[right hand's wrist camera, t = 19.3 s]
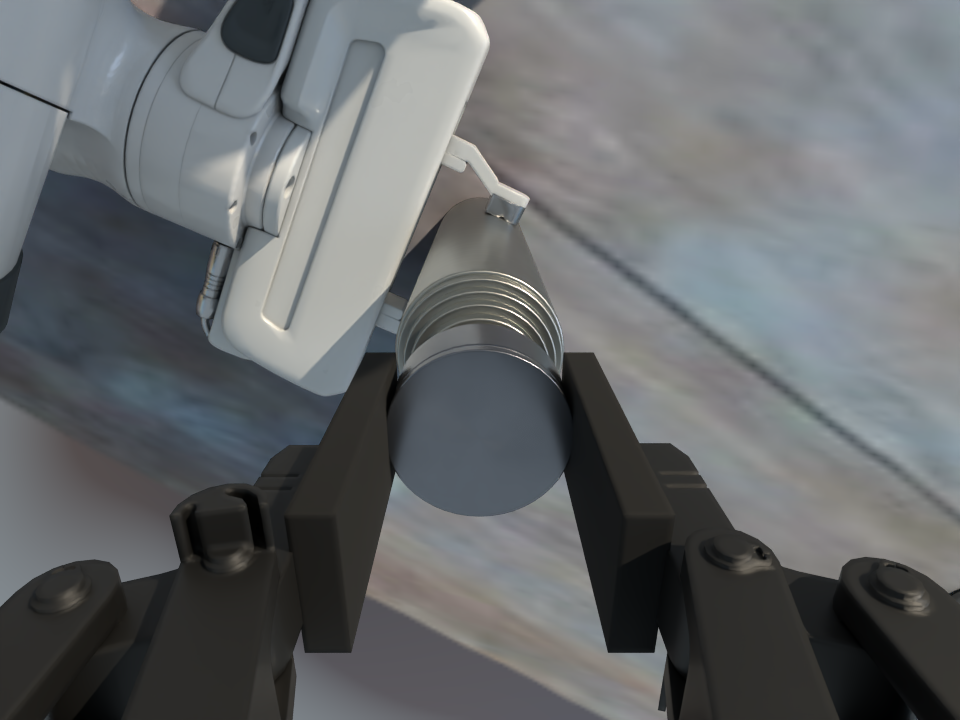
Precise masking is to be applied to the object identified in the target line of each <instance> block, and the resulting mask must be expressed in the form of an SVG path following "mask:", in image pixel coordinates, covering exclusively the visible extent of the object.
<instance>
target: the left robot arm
mask: <svg viewBox="0 0 960 720" xmlns="http://www.w3.org/2000/svg"><path fill="white" fill-rule="evenodd" d="M489 47H490V40H489V36H488V33H487V31H486V28H485V25H484V23H483V21H482V19H481V18H480V16H479V15H478V14H476V13H475V12H474V11H472V10H470V9H468V8H467V7H465V6H463V5H461V4H459V3H457V2H455V1H453V0H228V1H227V3H226V4H225V6H224V8H223V9H222V11H221V12H220V14H219V15H218V16H217V18H216V19H215V21H214V22H213V24H212V25H211V27H210V28H209V29H208V31H207V32H204V31H201V30H199V29H195V28H191V27H186V26H181V25H176V24H172V23H168V22H165V21H161V20H159V19H157V18H154V17H152V16H150V15H148V14H147V13H145V12H143V11H142V10H140V9H139V8H138V7H136V6H135V5H134V4H133V3H132V2H131V1H130V0H0V333H1V332H2V331H3V330H4V328H5V327H6V325H7V322H8V318H9V314H10V309H11V305H12V301H13V296H14V292H15V288H16V284H17V279H18V275H19V271H20V267H21V263H22V257H23V251H22V246H23V243H24V240H25V237H26V234H27V231H28V228H29V226H30V223H31V220H32V217H33V214H34V211H35V208H36V205H37V202H38V199H39V197H40V194H41V191H42V188H43V185H44V182H45V179H46V176H47V173H48V171H49V170H52V171H55V172H58V173H61V174H66V175H72V176H79V177H85V178H89V179H92V180H96V181H98V182H100V183H103V184H104V185H106V186H108V187H110V188H111V189H113V190H114V191H115V192H117V193H118V194H119V195H120V196H122V197H123V198H124V199H126V200H127V201H128V202H130V203H131V204H133V205H135V206H136V207H138V208H141V209H143V210H145V211H147V212H150V213H152V214H154V215H157V216H159V217H162V218H164V219H166V220H169V221H171V222H173V223H176V224H178V225H180V226H183V227H185V228H187V229H190V230H192V231H194V232H196V233H199V234H201V235H204V236H206V237H208V238H211V239H213V240H214V242H213V245H212V248H211V253H210V257H209V260H208V264H207V269H206V277H205V281H204V285H203V289H202V290H201V291H200V293H199V296H198V299H197V303H196V314H197V315H198V316H199V317H201V325H202V328H203V331H204V333H205V335H206V336H207V338H208V340H209V342H210V343H211V344H212V345H213V346H215V347H216V348H218V349H220V350H222V351H225V352H227V353H230V354H232V355H235V356H237V357H240V358H243V359H247V360H252V361H253V362H255V363H257V364H259V365H260V366H262V367H264V368H265V369H267V370H269V371H271V372H272V373H274V374H276V375H278V376H280V377H282V378H284V379H285V380H287V381H289V382H291V383H293V384H295V385H297V386H299V387H302V388H304V389H306V390H308V391H310V392H312V393H315V394H317V395H320V396H332V395H337V394H341V393H344V392H346V391H347V389H348V387H349V385H350V383H351V381H352V379H353V377H354V375H355V373H356V371H357V369H358V367H359V365H360V363H361V361H362V358H363V356H364V353H365V351H366V348H367V346H368V344H369V341H370V339H371V336H372V334H373V331H374V329H375V327H376V326H377V327H379V328H382V329H384V330H386V331H389V332H391V333H393V334H397V331H398V327H399V324H400V322H401V319H402V316H403V314H404V312H405V308H406V306H407V303H408V301H407V300H406V299H404V298H402V297H400V296H397V295H395V294H393V293H391V292H390V290H391V288H392V285H393V283H394V280H395V278H396V275H397V273H398V270H399V268H400V266H401V263H402V261H403V258H404V256H405V253H406V251H407V249H408V246H409V244H410V241H411V239H412V236H413V234H414V231H415V229H416V227H417V224H418V222H419V219H420V217H421V214H422V212H423V210H424V207H425V205H426V202H427V200H428V197H429V195H430V192H431V190H432V188H433V185H434V183H435V180H436V178H437V175H438V173H439V171H440V168H441V166H442V165H444V166H446V167H449V168H451V169H453V170H455V171H457V172H459V173H462V172H464V170H465V167H466V165H467V162H468V163H469V164H470V166H471V167H472V169H473V170H474V172H475V173H476V174H477V176H478V177H479V179H480V180H481V182H482V183H483V184H484V186H485V187H486V189H487V190H488V192H489V193H490V197H489V199H488V202H487V204H486V206H485V212H487V213H489V214H492V215H494V216H497V217H502V216H503V217H504V219H505V220H506V221H507V222H509V223H511V224H513V225H517V224H518V222H519V220H520V218H521V216H522V214H523V212H524V210H525V208H526V206H527V204H528V202H529V199H530V198H529V197H528V196H526V195H525V194H523V193H521V192H519V191H517V190H515V189H513V188H511V187H509V186H507V185H505V184H502V183H500V182H498V179H497V177H496V175H495V174H494V172H493V171H492V170H491V168H490V167H489V165H488V164H487V162H486V161H485V159H484V158H483V156H482V155H481V153H480V152H479V150H478V149H477V147H476V146H475V145H473V144H471V143H469V142H467V141H465V140H463V139H461V138H459V137H457V136H455V135H454V134H455V132H456V129H457V127H458V124H459V122H460V119H461V117H462V114H463V112H464V110H465V107H466V105H467V102H468V100H469V97H470V95H471V93H472V90H473V88H474V85H475V83H476V80H477V78H478V75H479V73H480V71H481V68H482V66H483V63H484V61H485V58H486V56H487V53H488V51H489ZM213 318H214V319H213ZM209 319H213V322H212V326H211V327H210V323H209Z"/></svg>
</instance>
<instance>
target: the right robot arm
mask: <svg viewBox="0 0 960 720" xmlns="http://www.w3.org/2000/svg"><path fill="white" fill-rule="evenodd" d="M397 382H398V381H397V364H396V353H365V355H364V357H363V359H362V361H361V363H360V365H359V367H358V369H357V371H356V373H355V375H354V377H353V379H352V381H351V383H350V385H349V387H348V389H347V391H346V393H345V395H344V397H343V399H342V401H341V403H340V405H339V407H338V409H337V411H336V413H335V415H334V417H333V419H332V420H331V422H330V424H329V426H328V428H327V430H326V432H325V434H324V436H323V438H322V440H321V442H320V444H319V445H289V446H288V447H286V448H285V449H283V450H282V451H281V452H279V453H278V454H276V455H275V456H274V457H272V458H271V459H270V461H269V462H268V464H267V466H266V467H265V469H264V470H263V472H262V473H261V477H259V478H258V480H257V481H256V483H255V485H254V486H252V485H248V484H225V485H220V486H215V487H210V488H208V489H205V490H203V491H200V492H198V493H196V494H193V495H191V496H190V497H188V498H187V499H185V500H184V501H183V502H181V503H180V504H178V505H177V507H176V508H175V509H174V510H173V512H172V513H171V514H170V520H171V524H172V528H173V532H174V537H175V541H176V545H177V549H178V553H179V557H180V561H181V563H180V566H179V568H178V569H176V570H173V571H169V572H166V573H162V574H159V575H154V576H149V577H145V578H140V579H136V580H131V581H127V582H122V583H121V580H120V576H119V573H118V570H117V569H116V568H115V567H114V566H113V565H112V564H110V563H109V562H105V561H100V560H85V561H76V562H72V563H69V564H66V565H62V566H59V567H56V568H53V569H51V570H49V571H47V572H45V573H44V574H42V575H40V576H38V577H36V578H34V579H32V580H31V581H30V582H28V583H27V584H26V585H24V586H23V587H22V588H21V589H19V590H18V591H17V592H15V593H14V594H13V595H12V596H11V597H10V598H9V599H8V600H7V601H6V602H5V603H4V604H3V605H2V606H1V607H0V720H292V719H293V708H294V697H295V686H296V670H295V664H294V658H293V650H294V647H295V645H296V642H297V639H298V636H299V633H300V631H301V630H302V637H303V643H304V650H305V653H351V651H352V647H353V643H354V639H355V635H356V631H357V627H358V623H359V619H360V614H361V610H362V606H363V602H364V598H365V594H366V590H367V586H368V582H369V578H370V573H371V569H372V565H373V561H374V557H375V553H376V549H377V545H378V541H379V537H380V532H381V528H382V524H383V520H384V516H385V512H386V508H387V504H388V500H389V496H390V491H391V487H392V483H393V479H394V475H395V470H394V468H393V466H392V463H391V461H390V459H389V450H388V435H387V419H386V417H387V413H388V410H389V406H390V403H391V400H392V397H393V394H394V391H395V388H396V385H397ZM562 384H563V387H564V390H565V393H566V396H567V399H568V402H569V405H570V408H571V412H572V415H573V424H572V439H571V454H570V460H569V462H568V464H567V466H566V468H565V470H564V474H565V478H566V482H567V486H568V490H569V494H570V498H571V502H572V506H573V511H574V515H575V519H576V523H577V527H578V531H579V535H580V539H581V543H582V547H583V552H584V556H585V560H586V564H587V568H588V572H589V576H590V580H591V584H592V588H593V593H594V597H595V601H596V605H597V609H598V613H599V617H600V621H601V625H602V630H603V634H604V638H605V642H606V646H607V650H608V653H654V652H655V646H656V639H657V633H658V627H659V630H660V633H661V635H662V638H663V641H664V644H665V647H666V649H667V658H666V664H665V670H664V676H663V682H662V688H661V694H660V701H659V707H658V710H660V711H665V710H666V707H667V718H668V720H916V718H917V719H918V720H960V591H959V592H957V593H955V594H953V595H952V596H951V595H950V594H949V593H947V592H946V591H945V590H944V589H943V588H942V587H940V586H939V585H938V584H936V583H935V582H934V581H933V580H931V579H930V578H929V577H927V576H926V575H924V574H922V573H920V572H918V571H916V570H914V569H912V568H910V567H908V566H906V565H902V564H900V563H896V562H893V561H889V560H886V559H879V558H870V557H863V558H857V559H852V560H850V561H849V562H848V563H846V564H845V565H844V566H843V567H842V570H841V573H840V577H839V580H835V579H830V578H826V577H821V576H817V575H812V574H808V573H803V572H799V571H795V570H792V569H788V568H785V567H782V566H781V565H780V562H779V561H778V559H777V558H776V556H775V555H774V553H773V552H772V550H771V549H770V548H768V547H767V546H766V545H765V544H763V543H762V542H761V541H759V540H758V539H756V538H754V537H752V536H750V535H748V534H746V533H743V532H741V531H737V530H735V529H734V527H733V526H732V524H731V523H730V521H729V519H728V518H727V516H726V515H725V513H724V512H723V510H722V508H721V507H720V505H719V504H718V502H717V501H716V499H715V497H714V496H713V494H712V493H711V491H710V490H709V488H707V485H706V483H705V482H704V480H703V479H702V477H701V475H699V474H698V471H697V469H696V467H695V466H694V464H693V463H692V461H691V460H690V458H689V457H688V456H687V455H686V454H684V453H683V452H681V451H680V450H679V449H677V448H676V447H675V446H673V445H672V444H670V443H639V442H638V440H637V438H636V436H635V434H634V432H633V430H632V428H631V426H630V424H629V422H628V420H627V418H626V416H625V414H624V412H623V410H622V408H621V406H620V404H619V402H618V400H617V398H616V396H615V394H614V392H613V390H612V388H611V386H610V384H609V382H608V380H607V378H606V376H605V374H604V372H603V370H602V368H601V366H600V364H599V362H598V360H597V359H596V357H595V355H594V353H563V369H562Z"/></svg>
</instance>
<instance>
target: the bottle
mask: <svg viewBox="0 0 960 720" xmlns="http://www.w3.org/2000/svg"><path fill="white" fill-rule="evenodd" d="M487 202H488V198H471V199H468V200H465V201H462V202H460V203H458V204H457V205H455V206H454V207H453V208H451V209H450V210H449V211H448V212H447V214H446V215H445V216H444V218H443V220H442V222H441V224H440V226H439V229H438V231H437V234H436V236H435V238H434V241H433V243H432V246H431V248H430V251H429V253H428V256H427V258H426V260H425V263H424V265H423V268H422V270H421V273H420V275H419V277H418V280H417V282H416V285H415V287H414V290H413V292H412V295H411V297H410V299H409V302H408V304H407V307H406V309H405V312H404V314H403V316H402V319H401V322H400V324H399V327H398V331H397V335H396V345H395V351H396V361H397V366H398V370H399V374H400V373H401V371H402V369H403V367H404V365H405V363H406V362H407V360H408V359H409V357H410V356H411V355H412V354H413V353H414V351H415V350H416V349H417V348H418V347H419V346H421V345H422V344H423V343H424V342H425V341H427V340H428V339H430V338H431V337H433V336H434V335H436V334H438V333H440V332H443V331H445V330H447V329H450V328H454V327H457V326H462V325H467V324H492V325H497V326H503V327H506V328H509V329H512V330H515V331H517V332H519V333H521V334H523V335H525V336H526V337H528V338H530V339H531V340H533V341H534V342H535V343H536V344H538V345H539V346H540V347H541V348H542V349H543V350H544V351H545V352H546V353H547V354H548V356H549V357H550V358H551V360H552V361H553V363H554V364H555V366H556V368H557V370H558V372H559V375H560V371H561V368H562V363H563V353H564V340H563V334H562V329H561V326H560V323H559V321H558V318H557V315H556V313H555V311H554V308H553V306H552V303H551V301H550V298H549V296H548V294H547V291H546V289H545V286H544V284H543V281H542V279H541V277H540V274H539V272H538V269H537V267H536V264H535V262H534V259H533V257H532V255H531V252H530V250H529V247H528V245H527V242H526V240H525V238H524V235H523V233H522V230H521V228H520V225H519V223H518V224H517V225H513V224H511V223H509V222H507V221H506V220H505V219H504V217H503V216H502V217H497V216H494V215H492V214H489V213H487V212H485V206H486V204H487Z"/></svg>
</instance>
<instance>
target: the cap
mask: <svg viewBox="0 0 960 720" xmlns="http://www.w3.org/2000/svg"><path fill="white" fill-rule="evenodd" d="M386 419H387V435H388V450H389V459H390V461H391V463H392V466H393V468H394V470H395V471H396V473H397V474H398V476H399V478H400V479H401V480H402V481H403V483H404V484H405V485H406V486H407V487H408V488H409V489H410V490H411V491H412V492H413V493H414V494H415V495H417V496H418V497H420V498H421V499H422V500H424V501H425V502H427V503H429V504H431V505H433V506H435V507H437V508H440V509H442V510H444V511H448V512H451V513H455V514H460V515H466V516H493V515H500V514H504V513H508V512H512V511H515V510H517V509H520V508H522V507H525V506H526V505H528V504H530V503H532V502H534V501H535V500H537V499H538V498H540V497H541V496H542V495H544V494H545V493H546V492H547V491H548V490H549V489H550V488H551V487H552V486H553V485H554V484H555V483H556V482H557V481H558V479H559V478H560V476H561V475H562V473H563V472H564V470H565V468H566V466H567V464H568V462H569V460H570V454H571V439H572V424H573V415H572V412H571V408H570V405H569V402H568V399H567V396H566V393H565V390H564V387H563V384H562V381H561V378H560V375H559V372H558V370H557V368H556V366H555V364H554V363H553V361H552V360H551V358H550V357H549V356H548V354H547V353H546V352H545V351H544V350H543V349H542V348H541V347H540V346H539V345H538V344H536V343H535V342H534V341H533V340H531V339H530V338H528V337H526V336H525V335H523V334H521V333H519V332H517V331H515V330H512V329H509V328H506V327H503V326H497V325H492V324H467V325H462V326H457V327H454V328H450V329H447V330H445V331H443V332H440V333H438V334H436V335H434V336H433V337H431V338H430V339H428V340H427V341H425V342H424V343H423V344H422V345H421V346H419V347H418V348H417V349H416V350H415V351H414V353H413V354H412V355H411V356H410V357H409V359H408V360H407V362H406V363H405V365H404V367H403V369H402V371H401V373H400V375H399V379H398V382H397V385H396V388H395V391H394V394H393V397H392V400H391V403H390V406H389V410H388V413H387V417H386Z"/></svg>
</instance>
